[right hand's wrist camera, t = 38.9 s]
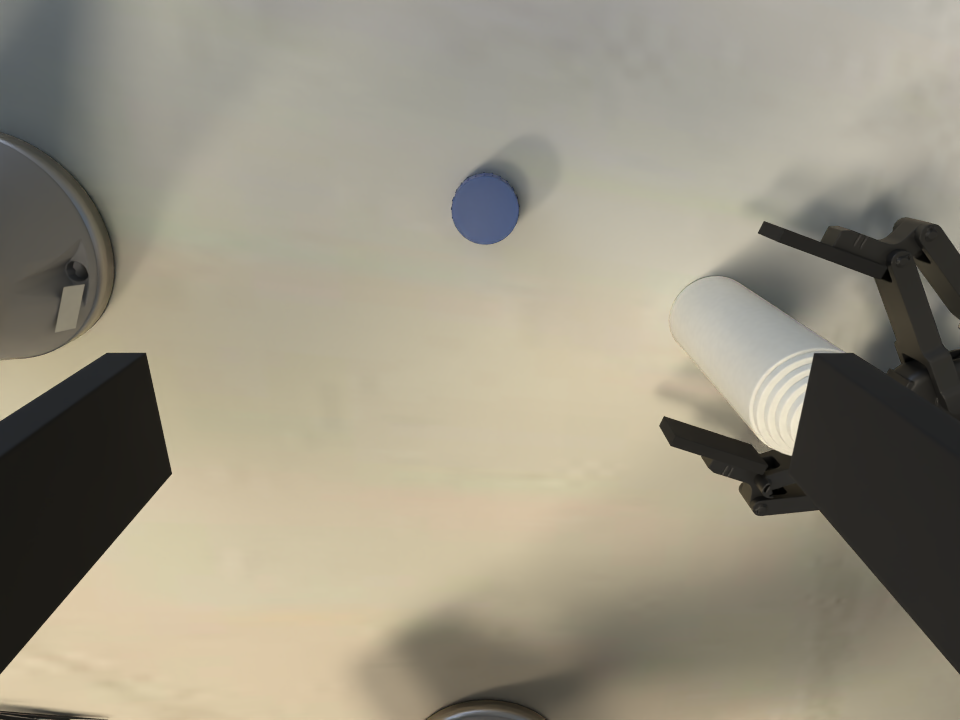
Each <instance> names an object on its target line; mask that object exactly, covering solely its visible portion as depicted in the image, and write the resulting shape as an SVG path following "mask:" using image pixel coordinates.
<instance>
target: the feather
mask: <svg viewBox="0 0 960 720" xmlns="http://www.w3.org/2000/svg"><path fill="white" fill-rule="evenodd" d="M0 719H2V720H49V719H51V720H70V719H92V720H107V719H94V718H82V717H70V716H57V715H45V714H32V713H20V712H7V711H0Z"/></svg>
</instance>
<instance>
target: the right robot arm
mask: <svg viewBox="0 0 960 720" xmlns="http://www.w3.org/2000/svg"><path fill="white" fill-rule="evenodd" d="M113 279H114V260H113V252H112V247H111V243H110V239H109V236H108V232H107V230H106V227H105V225H104V222H103V220H102V218H101V216H100V214H99V212H98V210H97V208H96V207H95V205H94V203H93V202H92V200H91V199H90V197H89V196H88V194H87V193H86V192H85V190H84V189H83V188H82V187H81V185H80V184H79V183H78V182H77V181H76V180H75V179H74V178H73V176H72V175H71V174H70V173H69V172H68V171H67V170H65V169H64V168H63V167H62V166H61V165H60V164H59V163H58V162H56V161H55V160H54V159H52V158H51V157H50V156H48V155H47V154H45V153H44V152H42V151H41V150H39V149H38V148H36V147H34V146H32V145H30V144H28V143H27V142H25V141H22V140H20V139H18V138H15V137H13V136H10V135H7V134H4V133H1V132H0V360H8V359H22V358H30V357H36V356H40V355H44V354H46V353H49V352H52V351H54V350H56V349H58V348H60V347H62V346H64V345H65V344H67V343H69V342H71V341H73V340H74V339H76V338H78V337H79V336H81V335H82V334H84V333H85V332H86V331H88V330H89V329H90V328H91V327H92V326H93V325H94V324H95V323H96V321H97V320H98V319H99V317H100V316H101V315H102V313H103V311H104V309H105V307H106V305H107V303H108V301H109V298H110V295H111V291H112V287H113ZM171 474H172V472H171V467H170V462H169V458H168V453H167V448H166V444H165V439H164V434H163V430H162V425H161V421H160V416H159V411H158V407H157V402H156V397H155V393H154V388H153V383H152V379H151V374H150V370H149V365H148V360H147V356H146V353H106V354H105V355H103V356H101V357H100V358H98V359H97V360H95V361H94V362H92V363H90V364H89V365H87V366H86V367H84V368H83V369H81V370H80V371H78V372H76V373H75V374H73V375H72V376H70V377H69V378H67V379H65V380H64V381H62V382H61V383H59V384H58V385H56V386H55V387H53V388H51V389H50V390H48V391H47V392H45V393H44V394H42V395H41V396H39V397H37V398H36V399H34V400H33V401H31V402H30V403H28V404H26V405H25V406H23V407H22V408H20V409H19V410H17V411H16V412H14V413H12V414H11V415H9V416H8V417H6V418H5V419H3V420H1V421H0V674H1V673H2V672H3V670H4V669H5V668H6V667H7V666H8V665H9V663H10V662H11V661H12V660H13V659H14V658H15V656H16V655H17V654H18V653H19V652H20V651H21V649H22V648H23V647H24V646H25V645H26V644H27V642H28V641H29V640H30V639H31V638H32V637H33V635H34V634H35V633H36V632H37V631H38V630H39V628H40V627H41V626H42V625H43V624H44V623H45V621H46V620H47V619H48V618H49V617H50V616H51V614H52V613H53V612H54V611H55V610H56V609H57V607H58V606H59V605H60V604H61V603H62V602H63V600H64V599H65V598H66V597H67V596H68V594H69V593H70V592H71V591H72V590H73V589H74V587H75V586H76V585H77V584H78V583H79V582H80V580H81V579H82V578H83V577H84V576H85V575H86V573H87V572H88V571H89V570H90V569H91V568H92V566H93V565H94V564H95V563H96V562H97V561H98V559H99V558H100V557H101V556H102V555H103V554H104V552H105V551H106V550H107V549H108V548H109V547H110V545H111V544H112V543H113V542H114V541H115V540H116V538H117V537H118V536H119V535H120V534H121V533H122V531H123V530H124V529H125V528H126V527H127V526H128V524H129V523H130V522H131V521H132V520H133V519H134V517H135V516H136V515H137V514H138V513H139V512H140V510H141V509H142V508H143V507H144V506H145V505H146V503H147V502H148V501H149V500H150V499H151V498H152V496H153V495H154V494H155V493H156V492H157V491H158V489H159V488H160V487H161V486H162V485H163V484H164V482H165V481H166V480H167V479H168V478H169V477H170V475H171ZM788 474H789V475H790V477H791V478H792V479H793V480H794V481H795V482H796V484H797V485H798V486H799V487H800V488H801V489H802V491H803V492H804V493H805V494H806V495H807V496H808V498H809V499H810V500H811V501H812V502H813V503H814V505H815V506H816V507H817V508H818V509H819V510H820V512H821V513H822V514H823V515H824V516H825V517H826V519H827V520H828V521H829V522H830V523H831V524H832V526H833V527H834V528H835V529H836V530H837V531H838V533H839V534H840V535H841V536H842V537H843V538H844V540H845V541H846V542H847V543H848V544H849V545H850V547H851V548H852V549H853V550H854V551H855V552H856V554H857V555H858V556H859V557H860V558H861V559H862V561H863V562H864V563H865V564H866V565H867V566H868V568H869V569H870V570H871V571H872V572H873V573H874V575H875V576H876V577H877V578H878V579H879V580H880V582H881V583H882V584H883V585H884V586H885V587H886V589H887V590H888V591H889V592H890V593H891V594H892V596H893V597H894V598H895V599H896V600H897V602H898V603H899V604H900V605H901V606H902V607H903V609H904V610H905V611H906V612H907V613H908V614H909V616H910V617H911V618H912V619H913V620H914V621H915V623H916V624H917V625H918V626H919V627H920V628H921V630H922V631H923V632H924V633H925V634H926V635H927V637H928V638H929V639H930V640H931V641H932V642H933V644H934V645H935V646H936V647H937V648H938V649H939V651H940V652H941V653H942V654H943V655H944V656H945V658H946V659H947V660H948V661H949V662H950V663H951V665H952V666H953V667H954V668H955V669H956V670H957V672H958V673H959V674H960V421H959V420H957V419H955V418H954V417H952V416H951V415H949V414H948V413H946V412H944V411H943V410H941V409H940V408H938V407H937V406H935V405H934V404H932V403H930V402H929V401H927V400H926V399H924V398H923V397H921V396H919V395H918V394H916V393H915V392H913V391H912V390H910V389H909V388H907V387H905V386H904V385H902V384H901V383H899V382H898V381H896V380H895V379H893V378H891V377H890V376H888V375H887V374H885V373H884V372H882V371H880V370H879V369H877V368H876V367H874V366H873V365H871V364H870V363H868V362H866V361H865V360H863V359H862V358H860V357H859V356H857V355H855V354H854V353H814V356H813V360H812V365H811V370H810V374H809V379H808V383H807V388H806V393H805V397H804V402H803V407H802V411H801V416H800V421H799V425H798V430H797V434H796V439H795V444H794V448H793V453H792V458H791V462H790V467H789V472H788Z"/></svg>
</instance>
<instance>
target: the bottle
mask: <svg viewBox="0 0 960 720" xmlns="http://www.w3.org/2000/svg"><path fill="white" fill-rule="evenodd" d="M669 325H670V330H671V333H672V336H673V337H674V339H675V341H676V342H677V343H678V344H679V346H680V347H681V348H682V349H683V350H684V351H685V353H686V354H687V355H688V356H689V357H690V358H691V360H692V361H693V362H694V363H695V364H696V365H697V367H698V368H699V369H700V370H701V371H702V373H703V374H704V375H705V376H706V377H707V378H708V380H709V381H710V382H711V383H712V384H713V385H714V387H715V388H716V389H717V390H718V391H719V392H720V394H721V395H722V396H723V397H724V398H725V399H726V401H727V402H728V403H729V404H730V405H731V407H732V408H733V409H734V410H735V411H736V412H737V414H738V415H739V416H740V417H741V418H742V419H743V421H744V422H745V423H746V424H747V425H748V426H749V428H750V429H751V430H752V431H753V432H754V434H755V435H756V436H757V437H758V438H759V439H760V440H761V441H762V442H763V443H764V444H765V445H767V446H768V447H770V448H772V449H774V450H776V451H779V452H781V453H783V454H787V455H790V456H792V453H793V448H794V444H795V439H796V434H797V430H798V425H799V421H800V416H801V411H802V407H803V402H804V397H805V393H806V388H807V383H808V379H809V374H810V370H811V365H812V360H813V356H814V353H846V352H844V351H842V350H841V349H839V348H838V347H836V346H835V345H833V344H832V343H830V342H829V341H827V340H826V339H824V338H823V337H821V336H820V335H818V334H817V333H815V332H813V331H812V330H810V329H809V328H807V327H806V326H804V325H803V324H801V323H800V322H798V321H797V320H795V319H794V318H792V317H791V316H789V315H787V314H786V313H784V312H783V311H781V310H780V309H778V308H777V307H775V306H774V305H772V304H771V303H769V302H768V301H766V300H765V299H763V298H762V297H760V296H758V295H757V294H755V293H754V292H752V291H751V290H749V289H748V288H746V287H745V286H743V285H742V284H740V283H739V282H737V281H735V280H733V279H731V278H728V277H723V276H710V277H705V278H702V279H699V280H697V281H695V282H693V283H691V284H690V285H688V286H687V287H686V288H685V289H684V290H683V291H682V292H681V293H680V294H679V295H678V296H677V298H676V300H675V301H674V303H673V305H672V308H671V311H670V316H669Z"/></svg>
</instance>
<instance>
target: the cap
mask: <svg viewBox="0 0 960 720" xmlns="http://www.w3.org/2000/svg"><path fill="white" fill-rule="evenodd" d="M455 193H456V194H455V197H453V200H452V201H453V204H452V208H451V210H452V218H453V221H454V224H455V226H456V228H457V229H458V231H459V232H460V233H461V234H462V235H463V236H464V237H465V238H466V239H468V240H470V241H472V242H474V243H478V244H493V243H496V242H499V241H501V240H503V239H504V238H506V237H507V236H508V235H509V234H510V233H511V232H512V230H513V229H514V227H515V225H516V224H517V220H518V216H519V204H518V201H517V199H518V198H517V195H516V194H515V193H514V189H513V187H511V186H510V184H509V183H508V181H505V180H504V179H503V178H501V176H497V175H494V174H493V173H492V174H490V173H485V172H483V173H481V174H475V175H473V176H471V177H468V178H467V179H466V180H465V181H464V182H463V183H461V185H460V187H459V188H458V189H457V190H456V192H455Z"/></svg>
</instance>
